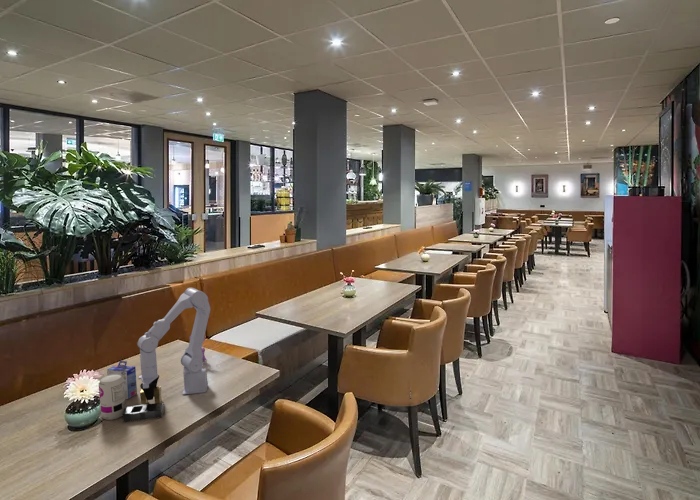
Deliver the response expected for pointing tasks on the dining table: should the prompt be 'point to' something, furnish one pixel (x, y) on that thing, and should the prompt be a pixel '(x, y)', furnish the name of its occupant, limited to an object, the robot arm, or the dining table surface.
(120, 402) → the supplement can
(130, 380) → the ink cartridge box
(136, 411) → the rail
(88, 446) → the dining table surface
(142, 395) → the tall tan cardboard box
